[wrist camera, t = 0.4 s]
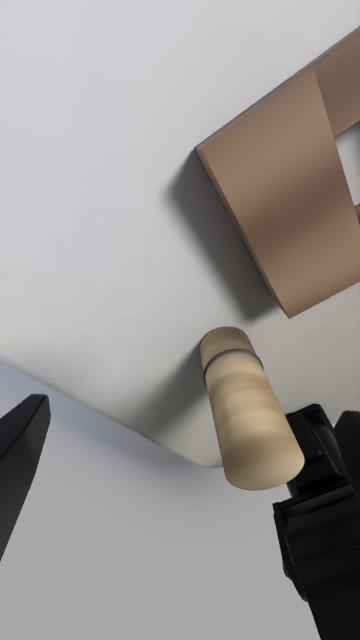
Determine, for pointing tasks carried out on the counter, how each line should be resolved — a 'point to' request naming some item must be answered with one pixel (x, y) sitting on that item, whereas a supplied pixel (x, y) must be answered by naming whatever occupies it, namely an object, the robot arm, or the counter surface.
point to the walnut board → (295, 180)
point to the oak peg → (247, 414)
